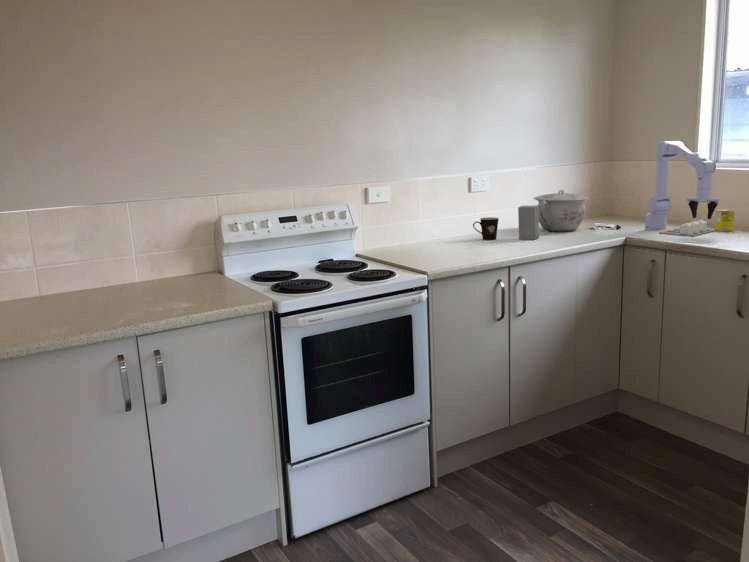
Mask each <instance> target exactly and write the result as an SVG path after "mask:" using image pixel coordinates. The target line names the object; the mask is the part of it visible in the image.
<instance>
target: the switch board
mask: <svg viewBox="0 0 749 562" xmlns="http://www.w3.org/2000/svg"><path fill="white" fill-rule="evenodd" d="M717 231H718V230H715V229H710V228H707V229H706V231H700V233H695V232H693V234H692V235H690V234H680V227H677V228H672V229H668V230H664V231H661V232H658V234H659V235H667V236H668V235H670V236H680V237H689V238H694V237H698V236H702V235H707V234H711V233H714V232H717Z"/></svg>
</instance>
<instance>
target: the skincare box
mask: <svg viewBox="0 0 749 562" xmlns="http://www.w3.org/2000/svg"><path fill="white" fill-rule="evenodd" d="M517 209H518V210H517V211H518V212H517V215H518V240H537V239H539V238H540V228H539V227H540V223H539V216H538V204H537V205H520V206H519V207H518V208H517Z"/></svg>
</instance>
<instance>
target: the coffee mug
mask: <svg viewBox="0 0 749 562" xmlns="http://www.w3.org/2000/svg"><path fill="white" fill-rule="evenodd" d="M499 219H500V218H499V217H493V216H491V217H489V216H488V217H487V216H486V217H481V218H480V221H474V222H473V223H472V224H473V225H472V227H473V229H474V230H475V231H476V232H478V233H480V234H481V236H482V240H483V241H495V240H497V234H498V226H499ZM477 223H478V224H479V225H480V228H481V231H480V230H478V229H477V228H476V226H475V225H476V224H477Z"/></svg>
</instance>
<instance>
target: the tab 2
mask: <svg viewBox="0 0 749 562" xmlns="http://www.w3.org/2000/svg"><path fill="white" fill-rule="evenodd" d="M696 223H700V231H706V229H708V228H707V227H708V225H707V224H708V221H704V219H699V220H697V222H696Z"/></svg>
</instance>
